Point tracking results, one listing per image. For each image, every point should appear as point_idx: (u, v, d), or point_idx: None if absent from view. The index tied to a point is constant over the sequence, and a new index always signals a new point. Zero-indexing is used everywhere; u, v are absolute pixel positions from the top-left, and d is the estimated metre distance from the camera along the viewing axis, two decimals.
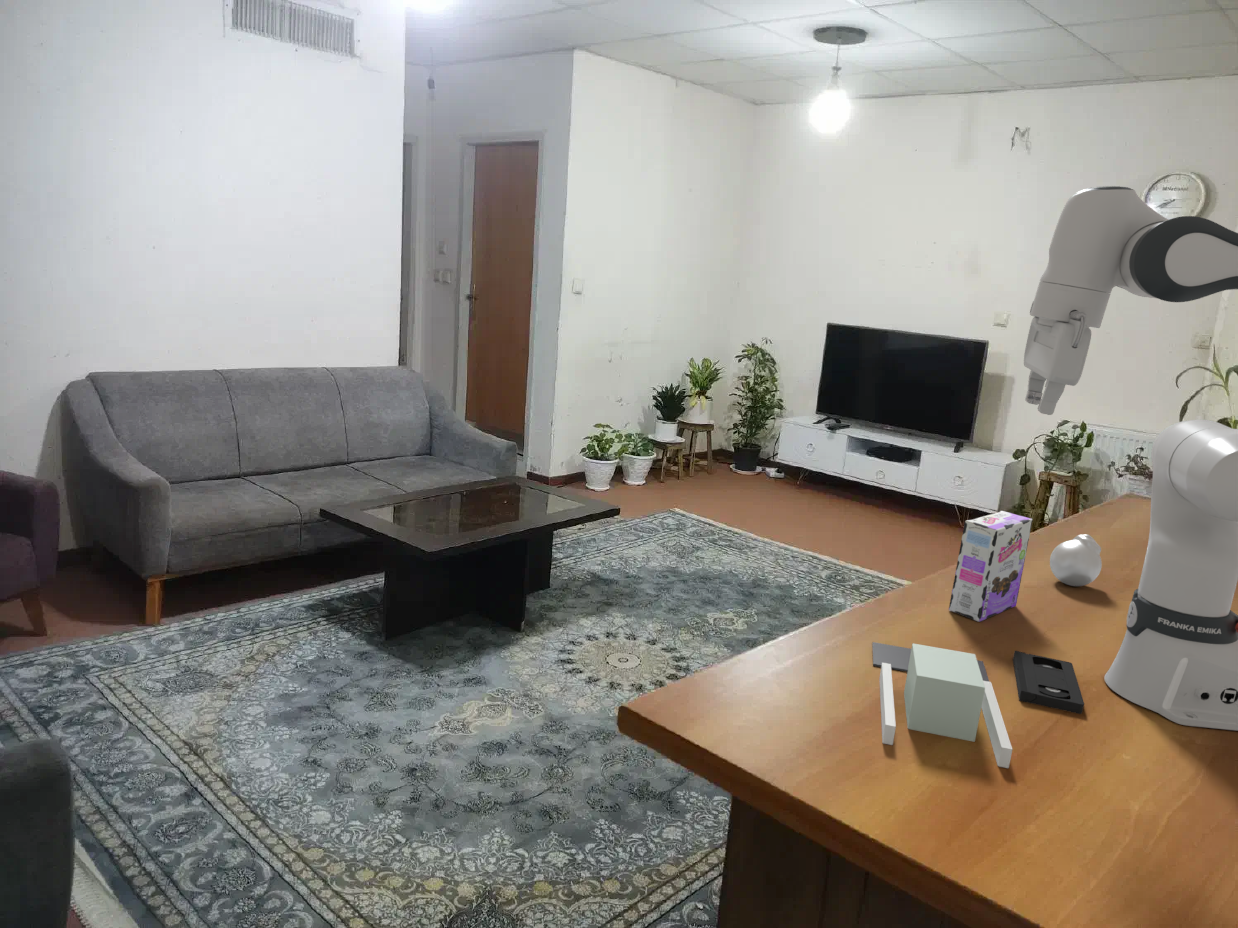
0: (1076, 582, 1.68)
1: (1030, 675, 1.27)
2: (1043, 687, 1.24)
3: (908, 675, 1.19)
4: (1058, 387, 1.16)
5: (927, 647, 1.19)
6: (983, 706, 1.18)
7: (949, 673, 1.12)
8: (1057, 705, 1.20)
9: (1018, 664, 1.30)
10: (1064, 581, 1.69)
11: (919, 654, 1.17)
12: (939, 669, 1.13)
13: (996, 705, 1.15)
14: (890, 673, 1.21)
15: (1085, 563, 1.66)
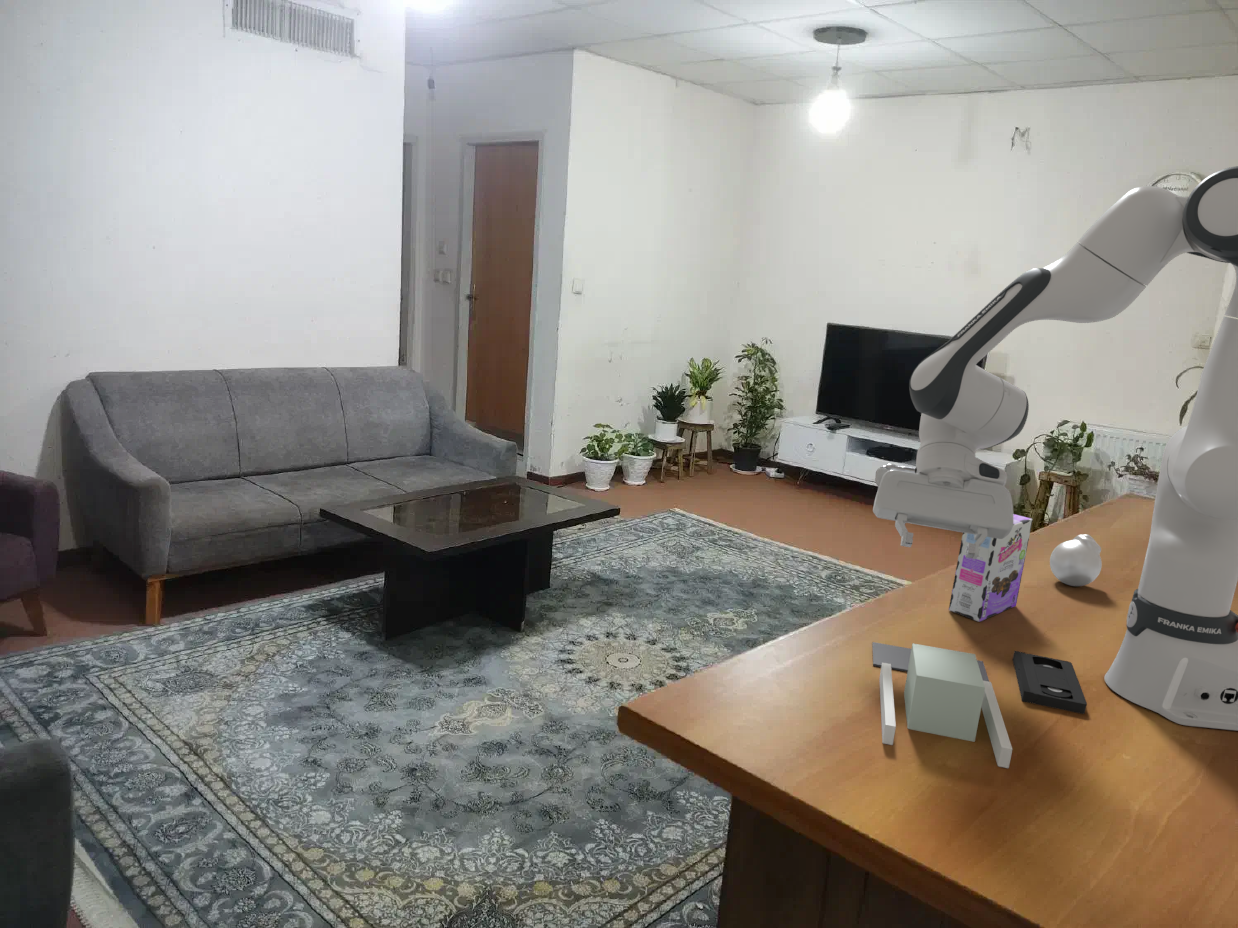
0: (1076, 582, 1.68)
1: (1031, 675, 1.27)
2: (1045, 687, 1.24)
3: (908, 675, 1.19)
4: (896, 519, 1.36)
5: (927, 647, 1.19)
6: (983, 706, 1.18)
7: (949, 673, 1.12)
8: (1060, 705, 1.20)
9: (1019, 664, 1.30)
10: (1064, 581, 1.69)
11: (919, 654, 1.17)
12: (939, 669, 1.13)
13: (996, 705, 1.15)
14: (890, 673, 1.21)
15: (1085, 563, 1.66)
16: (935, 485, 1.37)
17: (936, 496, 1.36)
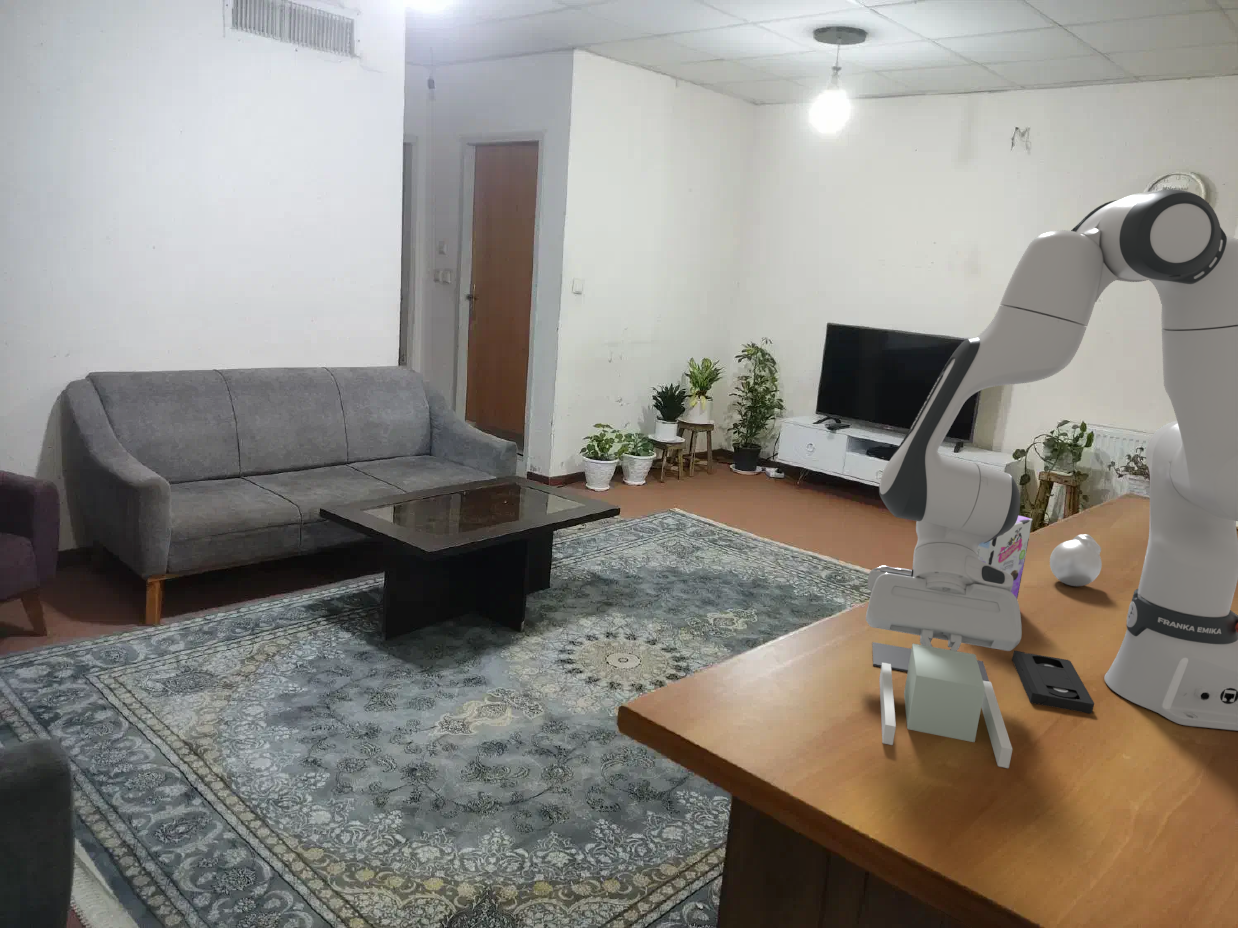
0: (1076, 582, 1.68)
1: (1035, 676, 1.27)
2: (1051, 688, 1.24)
3: (908, 675, 1.19)
4: (921, 635, 1.22)
5: (927, 647, 1.19)
6: (983, 706, 1.18)
7: (949, 673, 1.12)
8: (1068, 706, 1.21)
9: (1021, 665, 1.30)
10: (1064, 581, 1.69)
11: (919, 654, 1.17)
12: (939, 669, 1.12)
13: (996, 705, 1.15)
14: (890, 673, 1.21)
15: (1085, 563, 1.66)
16: (933, 591, 1.24)
17: (935, 604, 1.23)
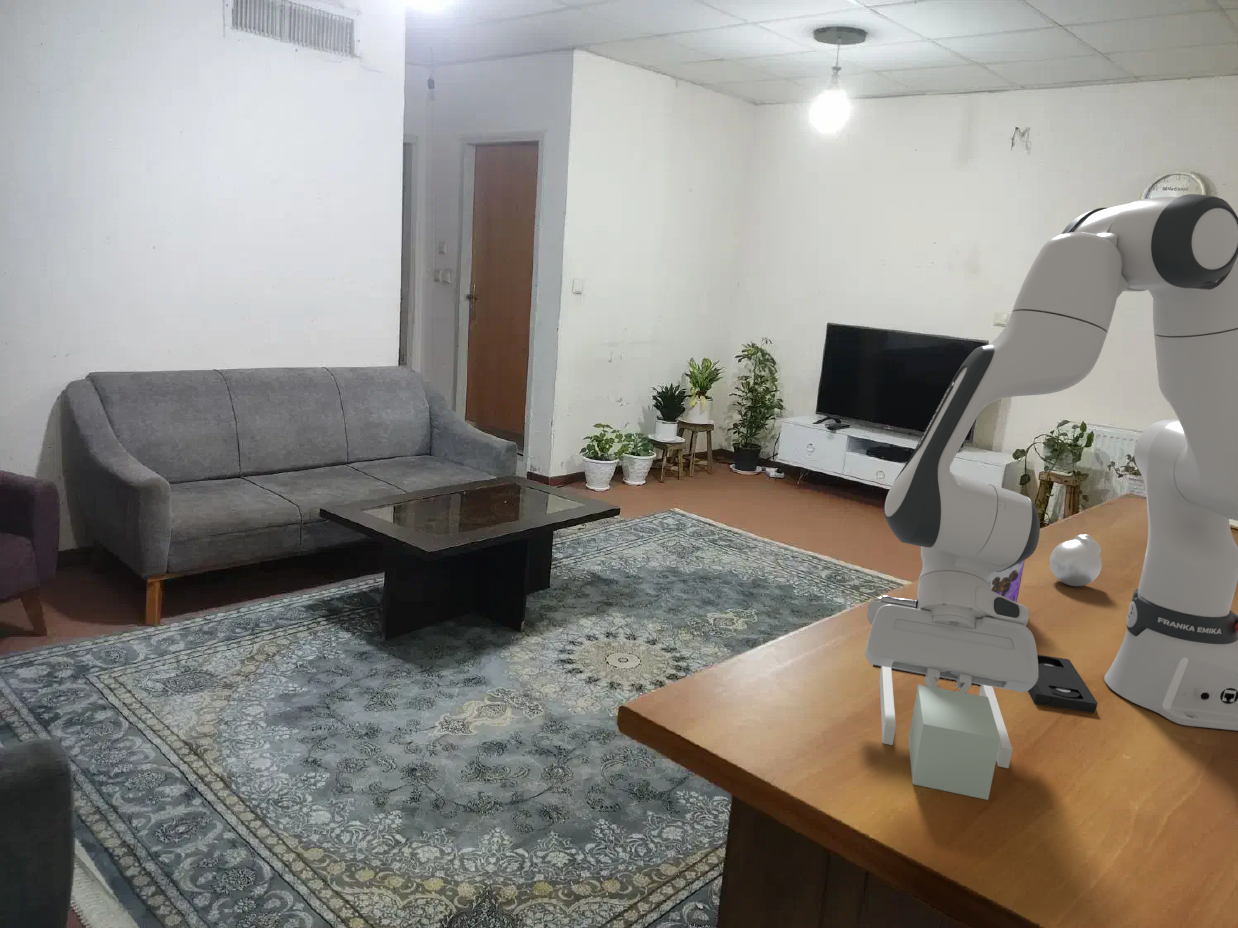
0: (1076, 582, 1.68)
1: None
2: (1053, 688, 1.24)
3: (913, 720, 1.07)
4: (926, 675, 1.10)
5: (934, 689, 1.07)
6: None
7: (959, 720, 1.00)
8: (1071, 706, 1.21)
9: None
10: (1064, 581, 1.69)
11: (926, 697, 1.04)
12: (948, 716, 1.00)
13: (996, 705, 1.15)
14: (890, 673, 1.21)
15: (1085, 563, 1.66)
16: (940, 625, 1.12)
17: (942, 639, 1.11)
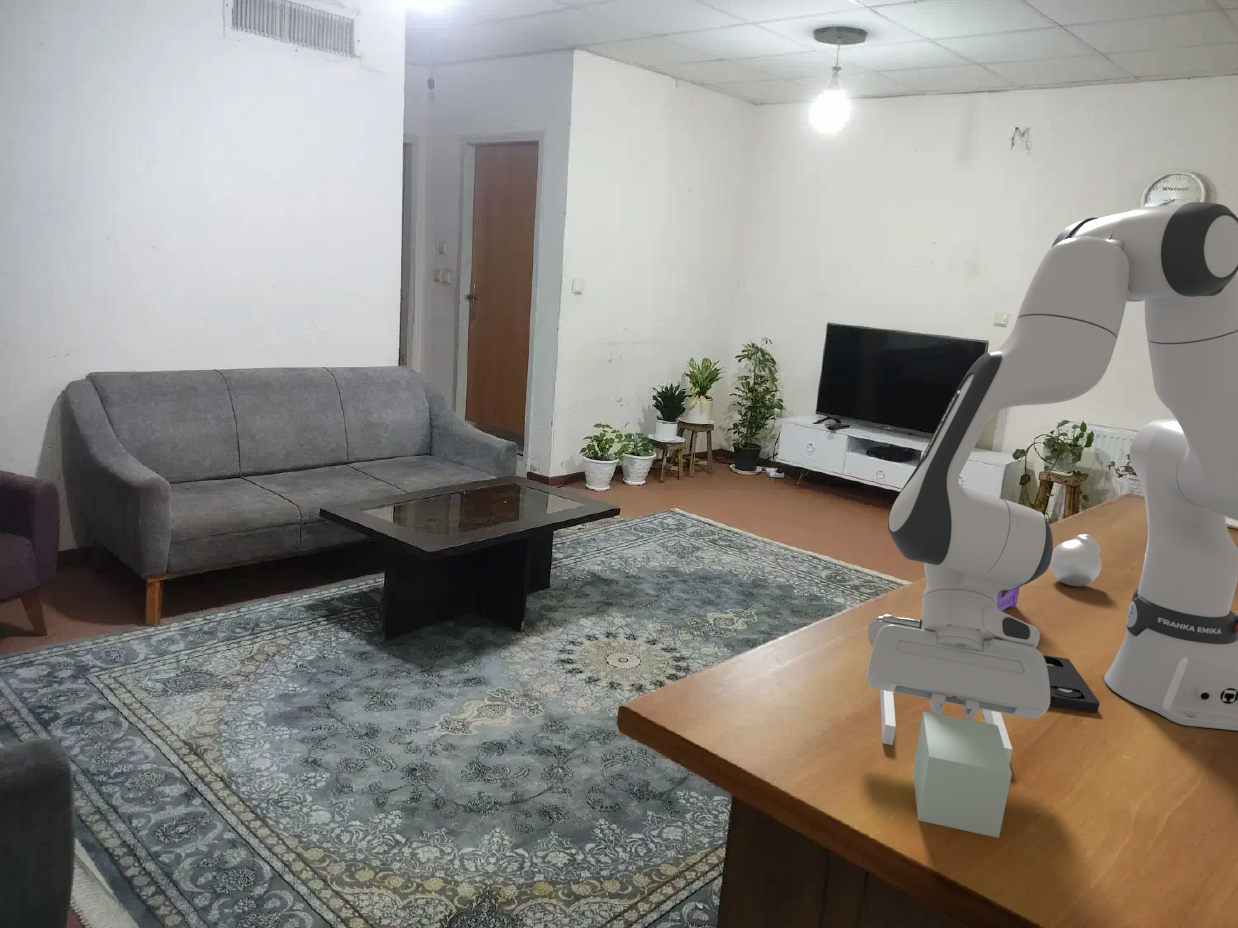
0: (1076, 582, 1.68)
1: None
2: (1055, 688, 1.24)
3: (918, 749, 1.01)
4: (931, 700, 1.04)
5: (941, 716, 1.00)
6: None
7: (968, 752, 0.93)
8: (1074, 706, 1.21)
9: None
10: (1064, 581, 1.69)
11: (931, 726, 0.98)
12: (955, 747, 0.94)
13: None
14: None
15: (1085, 563, 1.66)
16: (946, 646, 1.06)
17: (947, 662, 1.05)
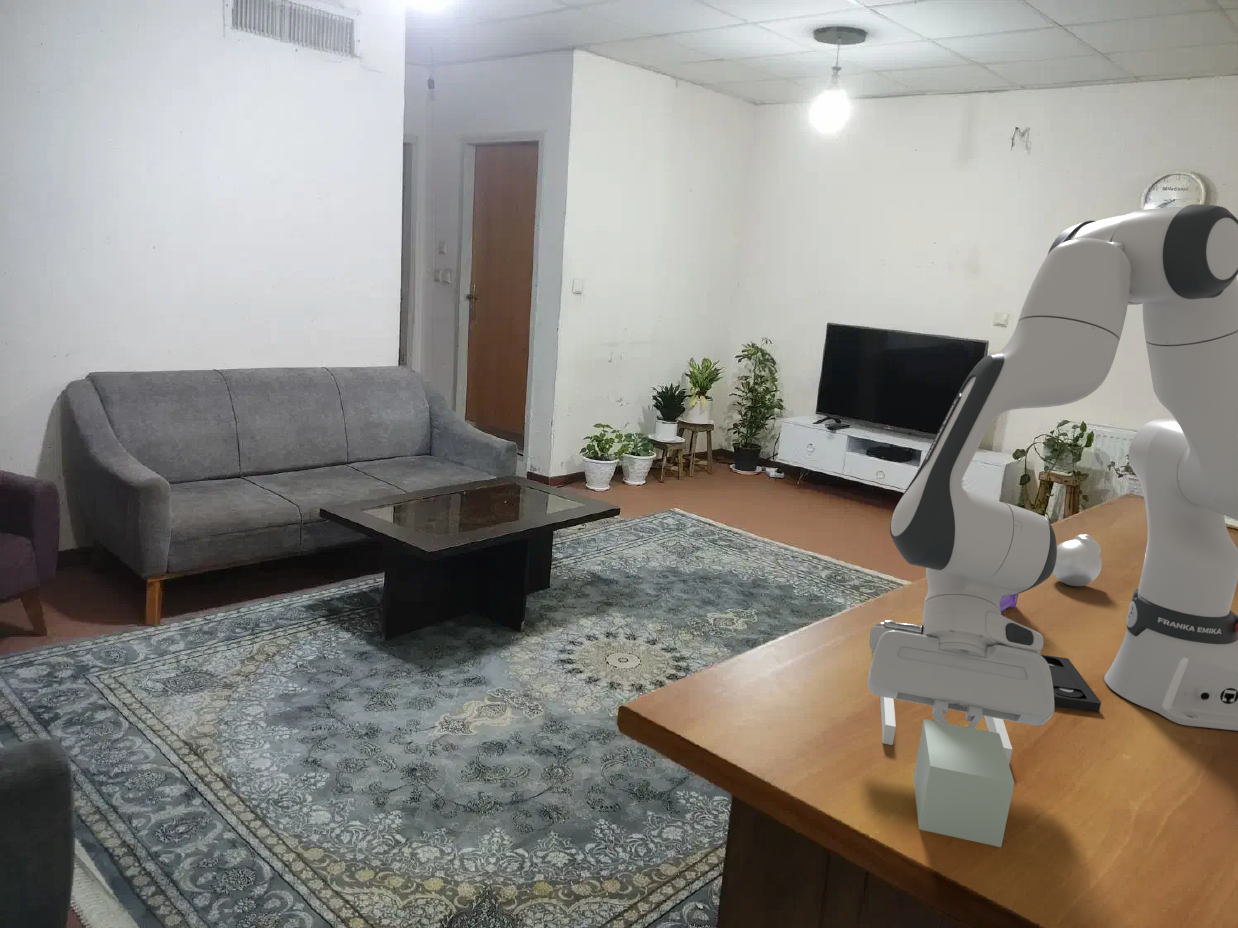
0: (1076, 582, 1.68)
1: None
2: (1056, 688, 1.24)
3: (919, 758, 0.99)
4: (934, 707, 1.02)
5: (941, 724, 0.99)
6: None
7: (969, 761, 0.92)
8: (1076, 706, 1.21)
9: None
10: (1064, 581, 1.69)
11: (932, 734, 0.97)
12: (957, 756, 0.93)
13: None
14: None
15: (1085, 563, 1.66)
16: (948, 653, 1.04)
17: (950, 669, 1.03)
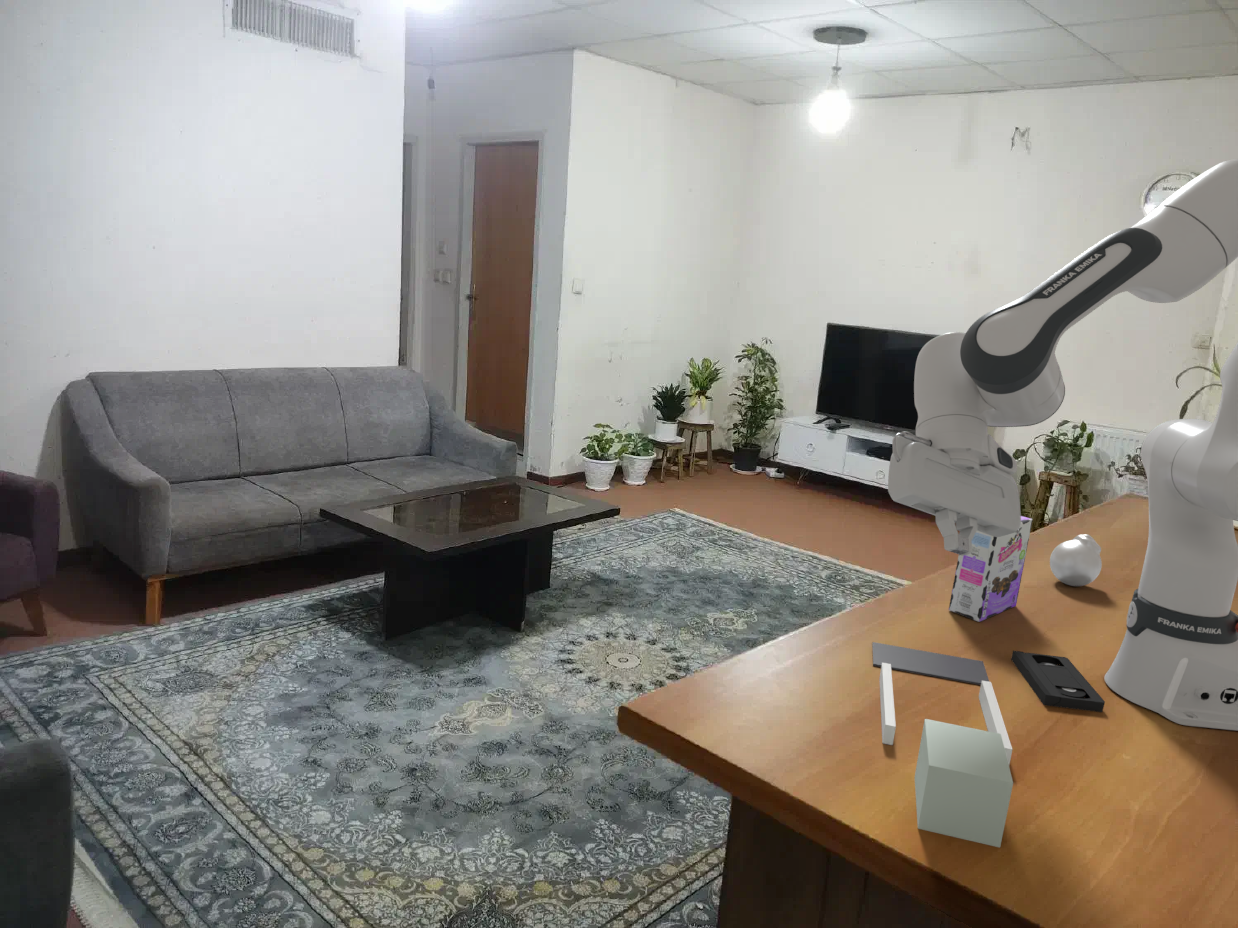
0: (1076, 582, 1.68)
1: (1042, 676, 1.27)
2: (1059, 688, 1.24)
3: (919, 757, 0.99)
4: (944, 516, 1.10)
5: (943, 724, 0.99)
6: (983, 706, 1.18)
7: (969, 761, 0.92)
8: (1080, 705, 1.21)
9: (1025, 665, 1.30)
10: (1064, 581, 1.69)
11: (933, 734, 0.97)
12: (956, 756, 0.93)
13: (996, 705, 1.15)
14: (890, 673, 1.21)
15: (1085, 563, 1.66)
16: (956, 468, 1.12)
17: (958, 483, 1.11)
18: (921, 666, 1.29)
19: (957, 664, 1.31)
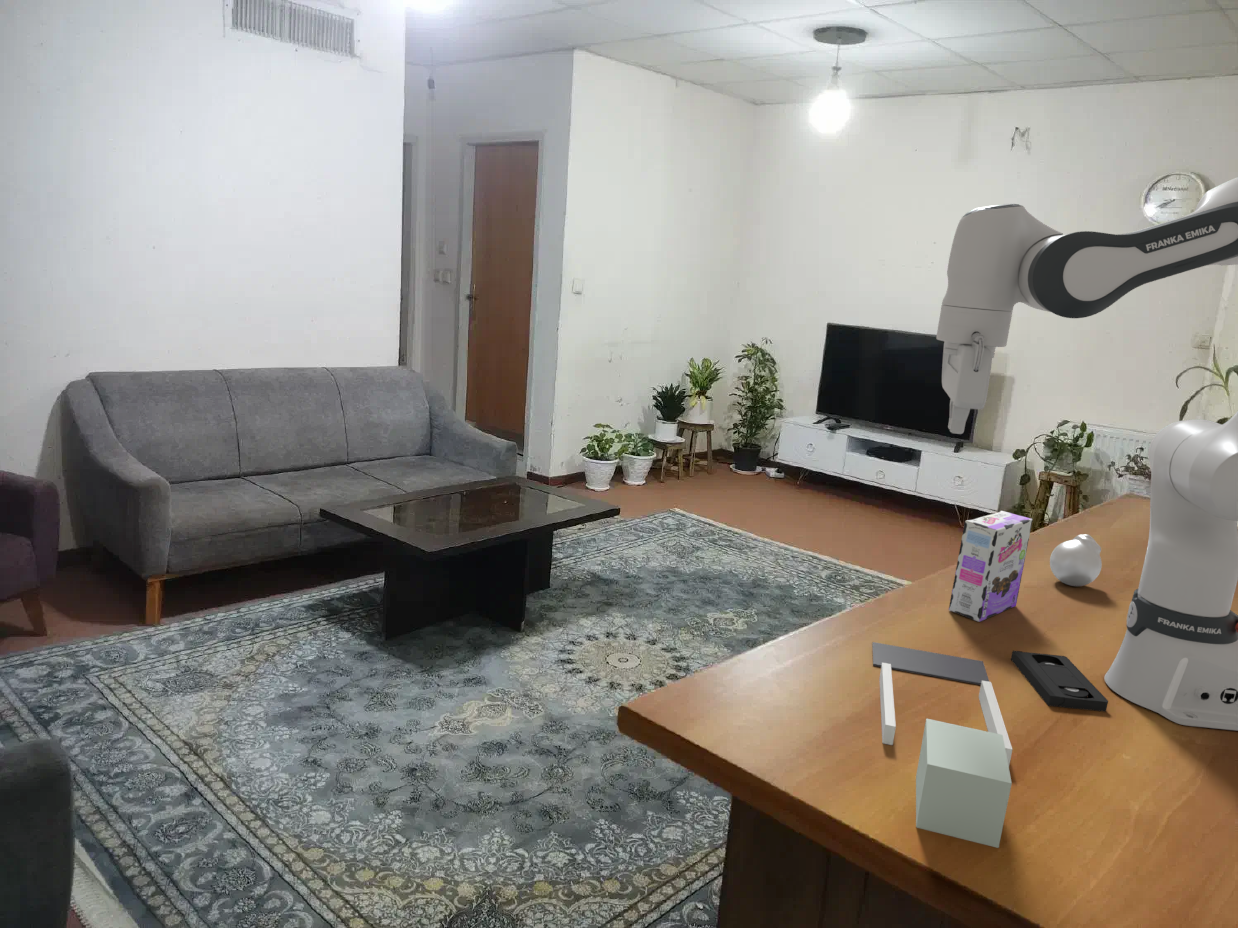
0: (1076, 582, 1.68)
1: (1044, 676, 1.27)
2: (1062, 688, 1.24)
3: (920, 757, 0.99)
4: None
5: (944, 724, 0.99)
6: (983, 706, 1.18)
7: (968, 761, 0.92)
8: (1084, 705, 1.21)
9: (1026, 665, 1.30)
10: (1064, 581, 1.69)
11: (933, 733, 0.97)
12: (955, 755, 0.93)
13: (996, 705, 1.15)
14: (890, 673, 1.21)
15: (1085, 563, 1.66)
16: None
17: None
18: (921, 666, 1.29)
19: (957, 664, 1.31)
